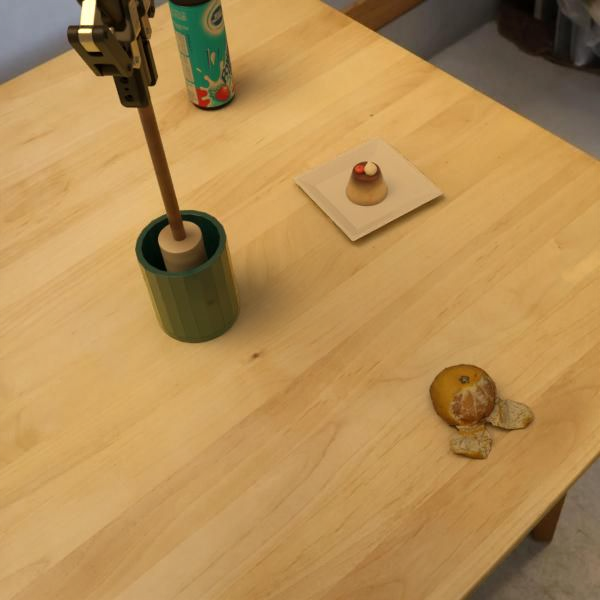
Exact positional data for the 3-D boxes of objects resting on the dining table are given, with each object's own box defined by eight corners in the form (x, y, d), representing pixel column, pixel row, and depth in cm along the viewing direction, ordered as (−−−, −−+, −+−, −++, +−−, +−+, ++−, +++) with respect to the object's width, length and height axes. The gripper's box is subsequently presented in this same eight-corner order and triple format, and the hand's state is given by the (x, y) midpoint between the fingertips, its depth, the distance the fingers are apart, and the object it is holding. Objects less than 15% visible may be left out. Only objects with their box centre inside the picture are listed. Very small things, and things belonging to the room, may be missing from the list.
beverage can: (221, 116, 105) (201, 8, 94) (180, 105, 107) (156, -2, 96) (244, 88, 108) (227, -20, 97) (204, 78, 110) (183, -29, 99)
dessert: (292, 185, 97) (289, 152, 93) (378, 142, 100) (378, 109, 96) (353, 248, 90) (351, 216, 86) (443, 200, 93) (446, 167, 90)
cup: (203, 356, 83) (184, 291, 75) (140, 318, 86) (116, 252, 78) (256, 299, 86) (244, 232, 79) (194, 265, 90) (177, 197, 82)
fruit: (468, 470, 73) (471, 449, 70) (405, 404, 77) (406, 382, 75) (538, 418, 76) (544, 396, 73) (473, 357, 80) (476, 334, 77)
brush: (194, 307, 82) (127, 60, 60) (164, 290, 83) (87, 43, 62) (221, 280, 84) (165, 32, 62) (191, 264, 85) (125, 16, 63)
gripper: (53, -184, 57) (116, 41, 70) (-19, -79, 48) (68, 153, 62) (162, -187, 56) (204, 41, 69) (109, -81, 47) (169, 156, 61)
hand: (140, 93), depth 65 cm, fingers closed on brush, 2 cm apart
